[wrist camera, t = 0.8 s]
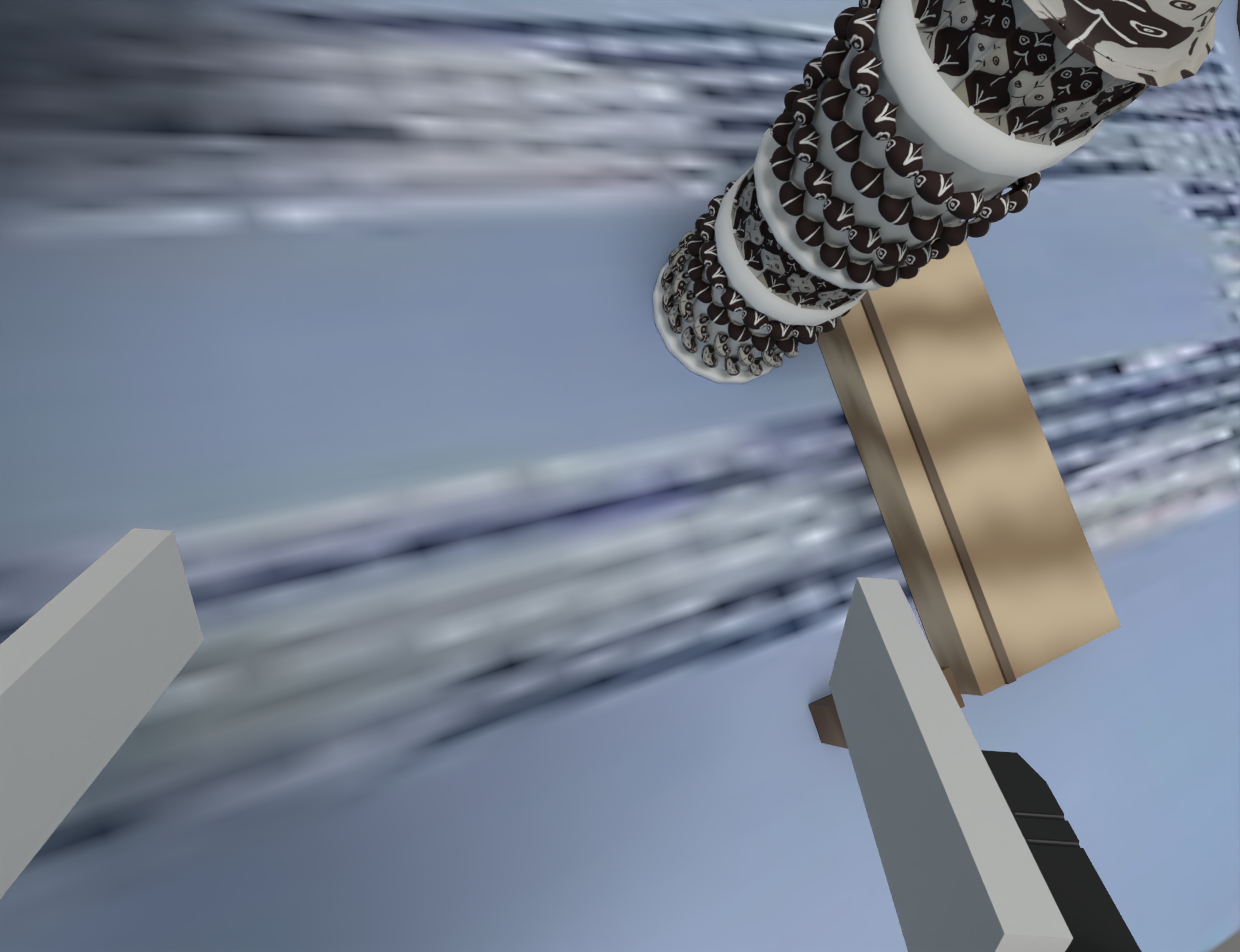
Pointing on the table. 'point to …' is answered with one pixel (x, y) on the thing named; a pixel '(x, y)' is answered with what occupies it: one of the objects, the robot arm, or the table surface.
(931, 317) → the oak board
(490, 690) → the table surface
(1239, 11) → the trivet
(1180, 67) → the decorative candle
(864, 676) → the robot arm
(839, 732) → the brown flat block
